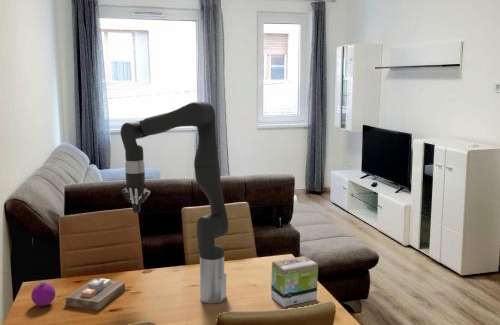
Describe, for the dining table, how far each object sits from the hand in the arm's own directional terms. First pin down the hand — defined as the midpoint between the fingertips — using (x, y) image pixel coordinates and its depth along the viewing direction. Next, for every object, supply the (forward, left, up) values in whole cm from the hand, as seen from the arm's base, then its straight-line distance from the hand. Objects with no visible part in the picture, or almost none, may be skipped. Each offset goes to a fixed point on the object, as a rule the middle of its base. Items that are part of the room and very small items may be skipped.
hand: (136, 212), depth 193 cm
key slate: (+7, +20, -26) cm, 34 cm away
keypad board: (+7, +20, -29) cm, 36 cm away
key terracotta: (+7, +25, -27) cm, 37 cm away
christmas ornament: (+22, +31, -29) cm, 48 cm away
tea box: (-66, -1, -29) cm, 72 cm away
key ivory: (+7, +16, -27) cm, 32 cm away
